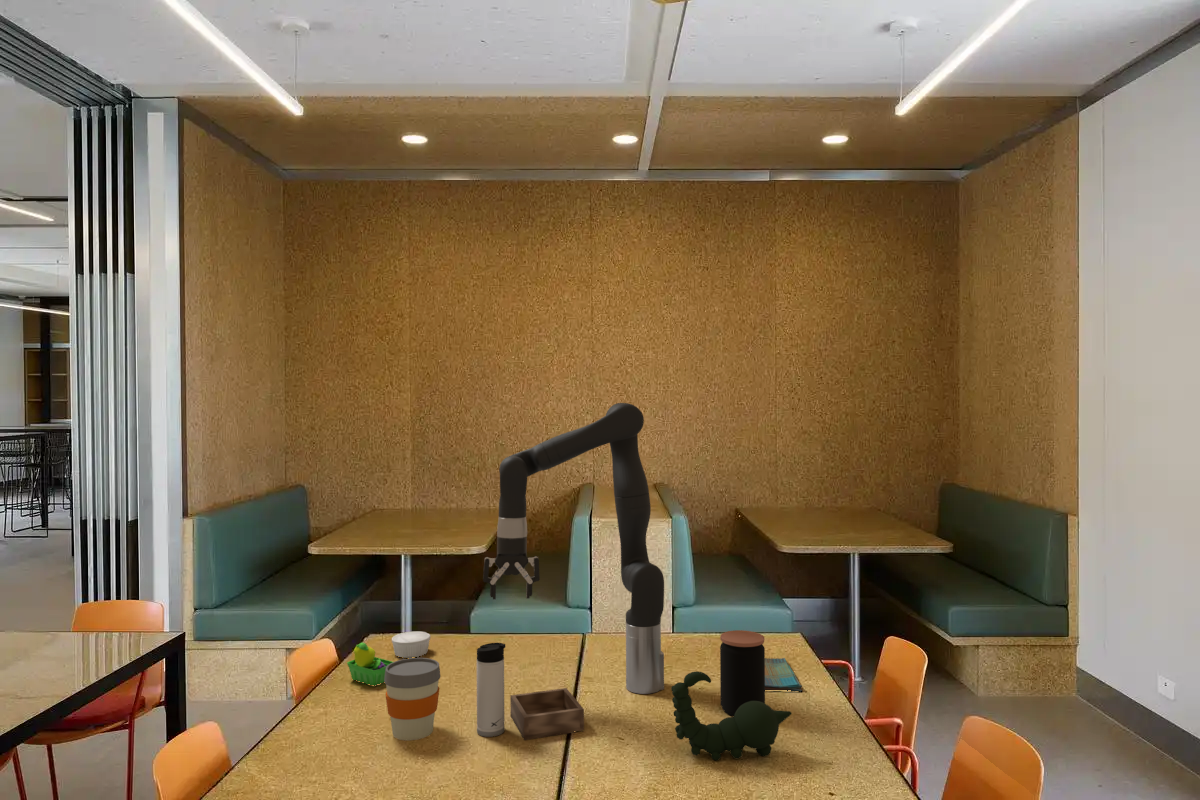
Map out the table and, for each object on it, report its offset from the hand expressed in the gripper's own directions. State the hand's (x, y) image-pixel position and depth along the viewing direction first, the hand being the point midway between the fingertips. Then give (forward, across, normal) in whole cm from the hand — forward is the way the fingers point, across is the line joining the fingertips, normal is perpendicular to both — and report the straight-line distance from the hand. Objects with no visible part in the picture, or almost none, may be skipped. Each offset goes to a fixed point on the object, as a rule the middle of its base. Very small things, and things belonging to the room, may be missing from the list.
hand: (510, 598), depth 196 cm
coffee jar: (+25, -56, +17) cm, 63 cm away
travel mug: (+26, +5, +19) cm, 32 cm away
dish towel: (+25, -69, -4) cm, 74 cm away
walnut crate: (+26, -8, +16) cm, 31 cm away
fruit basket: (+26, +37, -19) cm, 49 cm away
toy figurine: (+25, -46, +39) cm, 65 cm away
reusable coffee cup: (+26, +23, +16) cm, 38 cm away
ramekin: (+26, +28, -41) cm, 56 cm away
